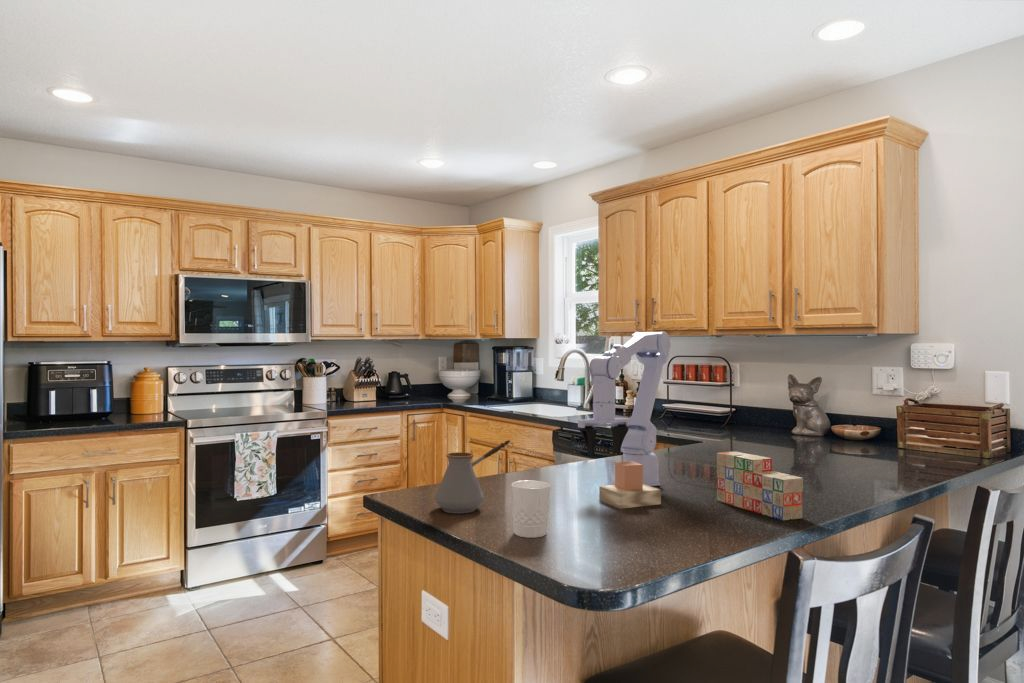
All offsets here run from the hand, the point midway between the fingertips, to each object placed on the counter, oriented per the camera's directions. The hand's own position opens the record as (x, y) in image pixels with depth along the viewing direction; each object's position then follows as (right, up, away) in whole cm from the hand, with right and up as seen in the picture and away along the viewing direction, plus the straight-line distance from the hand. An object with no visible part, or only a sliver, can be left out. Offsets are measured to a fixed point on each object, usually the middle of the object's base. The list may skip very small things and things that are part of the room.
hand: (603, 454), depth 167 cm
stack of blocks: (+35, -11, -14) cm, 39 cm away
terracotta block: (+5, -7, -8) cm, 12 cm away
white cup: (-20, -10, -36) cm, 43 cm away
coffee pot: (-32, -10, -14) cm, 37 cm away
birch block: (+5, -11, -8) cm, 15 cm away
